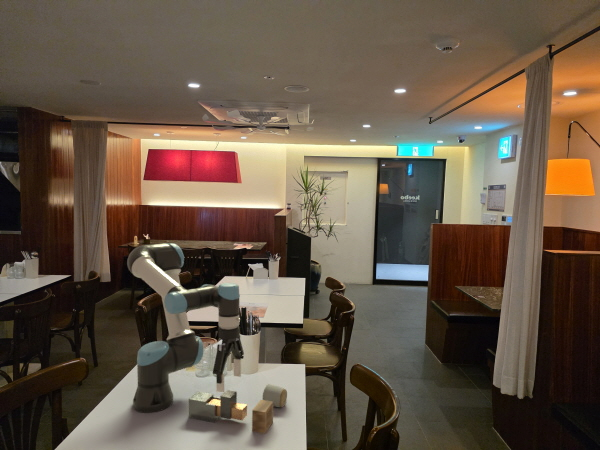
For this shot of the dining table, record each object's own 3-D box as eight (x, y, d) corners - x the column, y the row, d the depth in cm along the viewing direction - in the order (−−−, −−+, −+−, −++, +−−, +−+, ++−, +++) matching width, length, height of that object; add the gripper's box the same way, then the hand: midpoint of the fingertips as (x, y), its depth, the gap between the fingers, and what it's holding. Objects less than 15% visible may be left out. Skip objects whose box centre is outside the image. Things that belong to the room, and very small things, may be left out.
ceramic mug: (281, 411, 161) (281, 391, 160) (261, 407, 163) (262, 388, 163) (290, 399, 171) (291, 381, 171) (272, 396, 173) (272, 378, 173)
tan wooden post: (192, 412, 155) (192, 391, 155) (199, 405, 160) (199, 385, 160) (241, 421, 149) (241, 399, 149) (247, 414, 154) (247, 393, 154)
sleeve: (188, 417, 155) (188, 398, 155) (197, 409, 161) (197, 391, 161) (214, 422, 152) (214, 403, 152) (222, 414, 158) (222, 395, 158)
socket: (252, 431, 147) (252, 410, 146) (260, 419, 154) (261, 399, 154) (264, 433, 145) (265, 412, 145) (272, 422, 153) (273, 401, 153)
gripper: (222, 337, 139) (222, 400, 140) (252, 318, 162) (252, 371, 164) (202, 335, 141) (202, 396, 142) (234, 316, 165) (235, 369, 166)
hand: (229, 383), depth 153 cm, fingers open, 13 cm apart
